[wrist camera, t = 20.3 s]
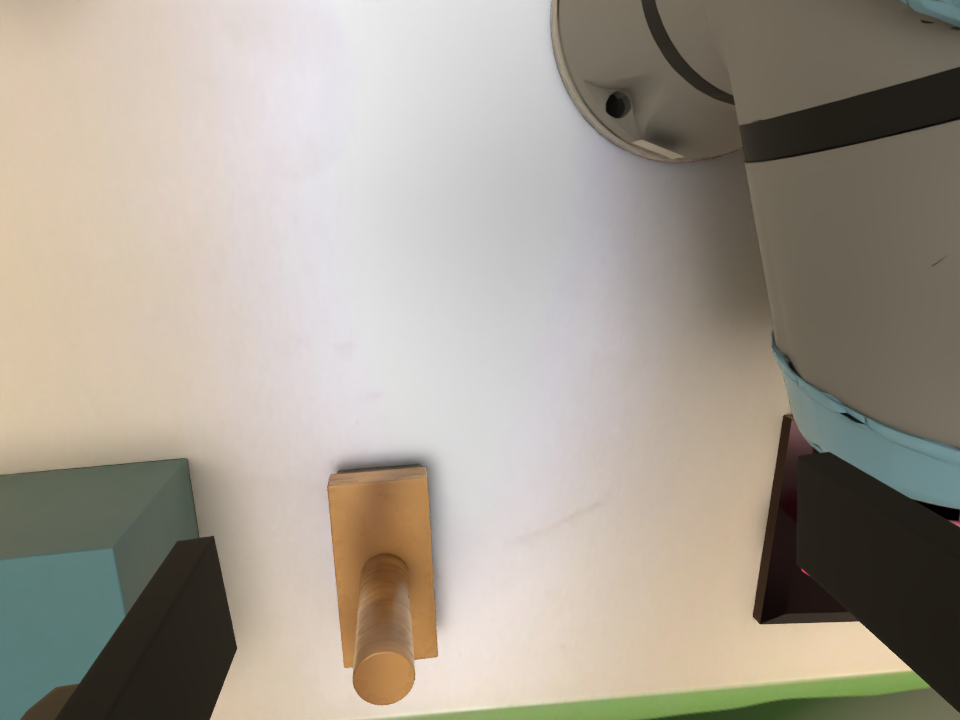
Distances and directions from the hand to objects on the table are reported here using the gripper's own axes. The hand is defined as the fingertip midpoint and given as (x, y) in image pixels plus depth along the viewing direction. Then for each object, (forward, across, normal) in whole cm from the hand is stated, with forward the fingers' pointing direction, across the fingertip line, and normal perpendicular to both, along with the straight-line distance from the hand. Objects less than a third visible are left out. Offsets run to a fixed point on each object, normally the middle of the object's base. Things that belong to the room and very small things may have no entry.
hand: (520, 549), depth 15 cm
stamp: (+26, -6, -13) cm, 29 cm away
